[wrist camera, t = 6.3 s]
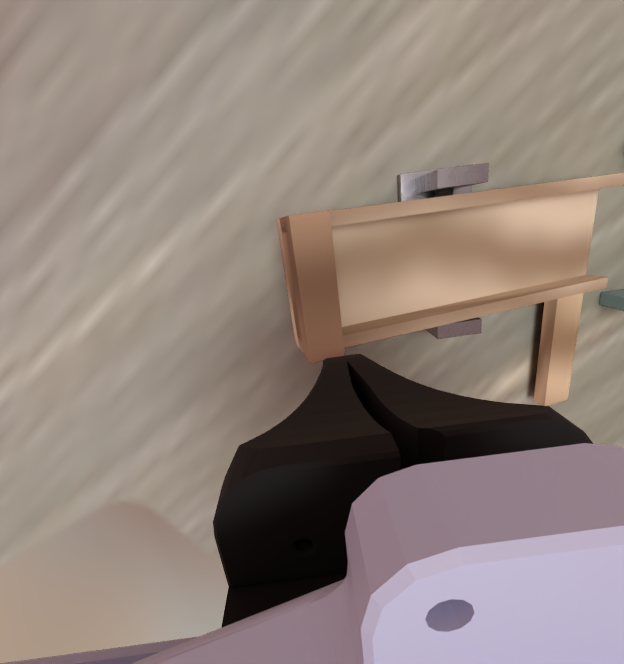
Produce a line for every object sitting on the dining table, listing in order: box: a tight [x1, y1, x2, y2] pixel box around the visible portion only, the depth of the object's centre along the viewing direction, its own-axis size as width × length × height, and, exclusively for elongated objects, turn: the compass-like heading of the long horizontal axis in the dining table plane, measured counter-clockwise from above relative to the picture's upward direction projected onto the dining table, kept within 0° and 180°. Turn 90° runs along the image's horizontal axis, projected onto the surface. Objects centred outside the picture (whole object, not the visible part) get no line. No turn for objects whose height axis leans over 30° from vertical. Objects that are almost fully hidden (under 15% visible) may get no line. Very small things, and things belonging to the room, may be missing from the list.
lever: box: [276, 173, 624, 406], centre depth 17 cm, size 14×18×3 cm
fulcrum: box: [398, 163, 489, 339], centre depth 18 cm, size 9×4×3 cm, turn 7°
